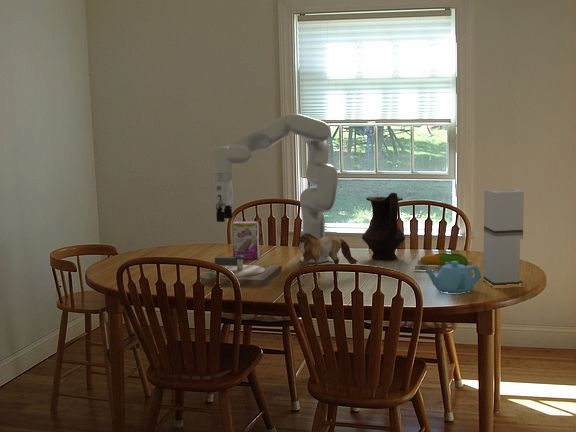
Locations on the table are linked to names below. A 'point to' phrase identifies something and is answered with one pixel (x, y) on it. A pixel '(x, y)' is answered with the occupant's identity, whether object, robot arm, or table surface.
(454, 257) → the corn
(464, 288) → the teapot
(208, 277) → the tuner base
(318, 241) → the horse figurine
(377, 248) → the jug
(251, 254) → the candy bar box
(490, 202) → the white rectangular tower
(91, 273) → the table surface
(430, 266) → the corn rest
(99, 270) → the table surface
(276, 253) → the table surface
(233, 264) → the lever with ball knob
